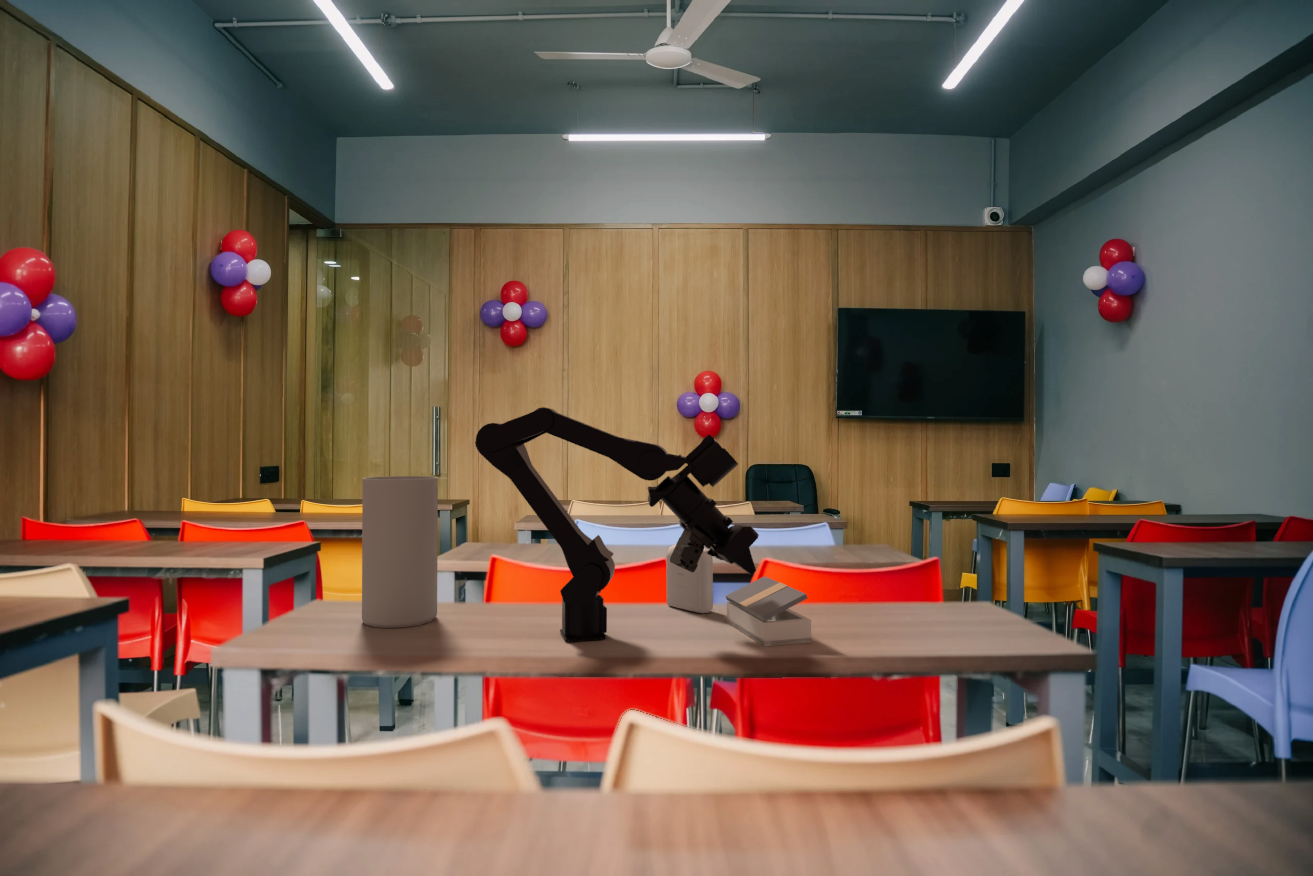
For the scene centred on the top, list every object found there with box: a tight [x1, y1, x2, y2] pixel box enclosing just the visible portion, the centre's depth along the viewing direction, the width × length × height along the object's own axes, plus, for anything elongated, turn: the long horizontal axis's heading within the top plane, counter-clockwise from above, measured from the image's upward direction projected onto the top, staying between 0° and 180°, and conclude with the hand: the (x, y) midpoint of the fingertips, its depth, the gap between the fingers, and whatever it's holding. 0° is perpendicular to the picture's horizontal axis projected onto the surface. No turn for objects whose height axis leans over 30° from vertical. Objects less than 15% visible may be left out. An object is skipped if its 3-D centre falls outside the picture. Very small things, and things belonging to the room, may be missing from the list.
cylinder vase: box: [361, 475, 439, 629], centre depth 133 cm, size 12×12×25 cm
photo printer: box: [665, 543, 714, 614], centre depth 143 cm, size 10×4×12 cm, turn 39°
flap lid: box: [725, 575, 808, 621], centre depth 126 cm, size 8×16×1 cm, turn 16°
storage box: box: [726, 601, 812, 647], centre depth 126 cm, size 8×16×4 cm, turn 16°
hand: (753, 572), depth 125 cm, fingers closed
